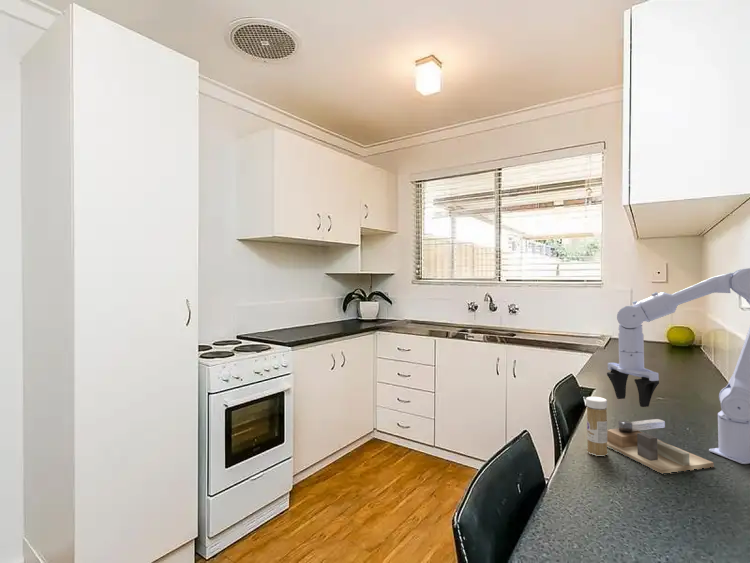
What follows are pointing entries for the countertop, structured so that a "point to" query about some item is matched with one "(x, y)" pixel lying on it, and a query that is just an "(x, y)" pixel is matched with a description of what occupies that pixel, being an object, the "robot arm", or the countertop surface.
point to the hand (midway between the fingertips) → (632, 402)
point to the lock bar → (640, 425)
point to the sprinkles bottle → (597, 425)
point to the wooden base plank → (654, 452)
